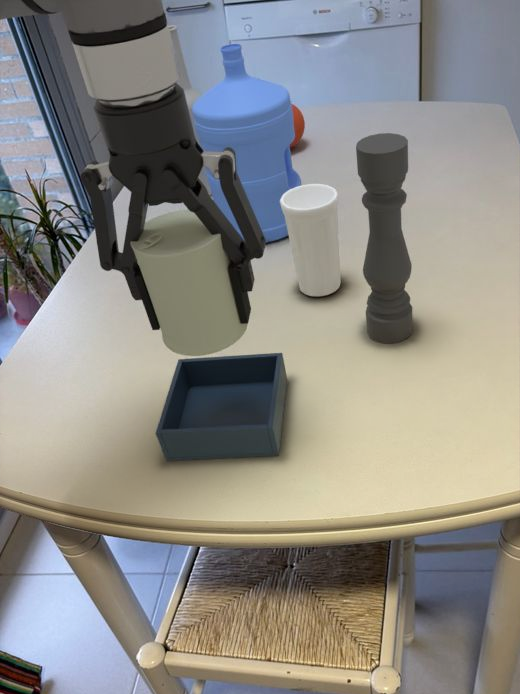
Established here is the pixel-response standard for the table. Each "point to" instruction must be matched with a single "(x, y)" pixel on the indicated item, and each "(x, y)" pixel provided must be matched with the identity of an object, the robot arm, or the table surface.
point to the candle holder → (385, 236)
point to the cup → (314, 236)
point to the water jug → (250, 140)
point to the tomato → (297, 125)
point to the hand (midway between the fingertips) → (202, 319)
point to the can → (188, 284)
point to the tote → (224, 408)
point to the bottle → (187, 92)
